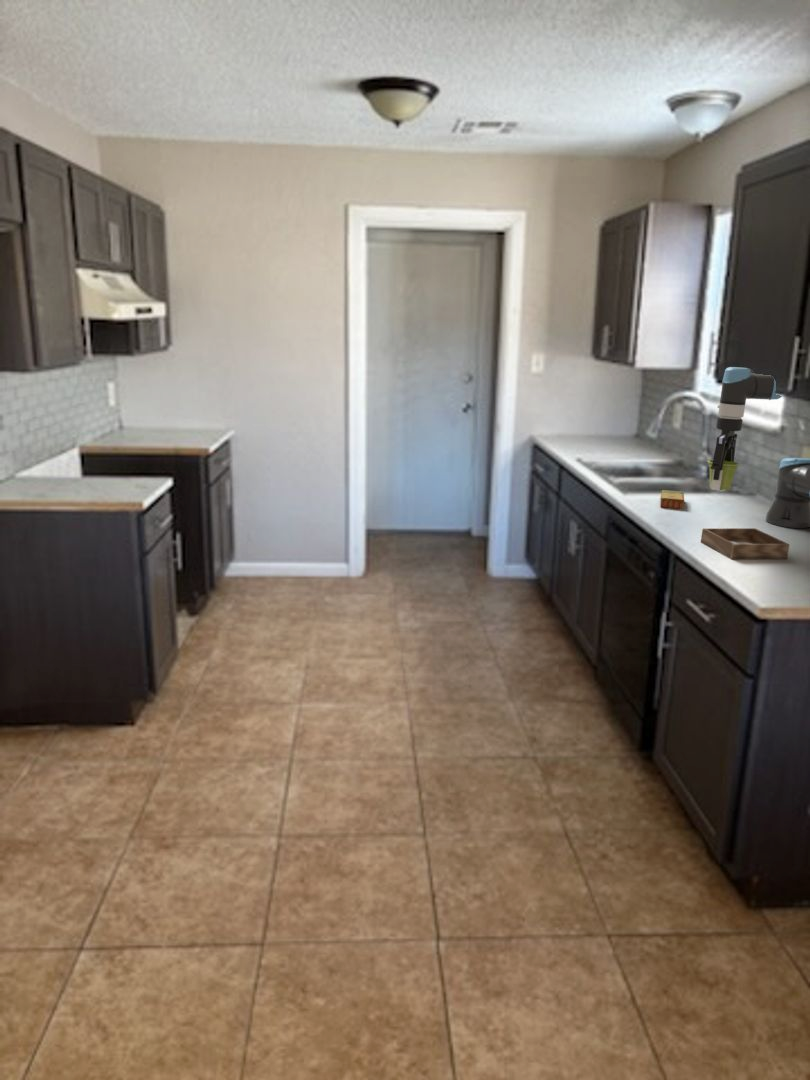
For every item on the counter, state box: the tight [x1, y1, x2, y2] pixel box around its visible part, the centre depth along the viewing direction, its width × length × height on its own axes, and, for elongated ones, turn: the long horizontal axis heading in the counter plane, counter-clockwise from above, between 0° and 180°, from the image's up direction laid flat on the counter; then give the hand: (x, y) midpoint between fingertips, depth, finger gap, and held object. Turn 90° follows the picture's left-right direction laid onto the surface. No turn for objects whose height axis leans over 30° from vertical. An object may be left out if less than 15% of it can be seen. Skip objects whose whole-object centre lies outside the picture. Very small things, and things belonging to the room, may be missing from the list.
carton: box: [659, 489, 685, 510], centre depth 310 cm, size 8×16×4 cm, turn 163°
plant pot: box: [707, 459, 740, 491], centre depth 265 cm, size 9×9×9 cm
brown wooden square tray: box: [700, 527, 791, 560], centre depth 252 cm, size 18×18×4 cm
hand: (719, 487), depth 266 cm, fingers closed on plant pot, 8 cm apart
